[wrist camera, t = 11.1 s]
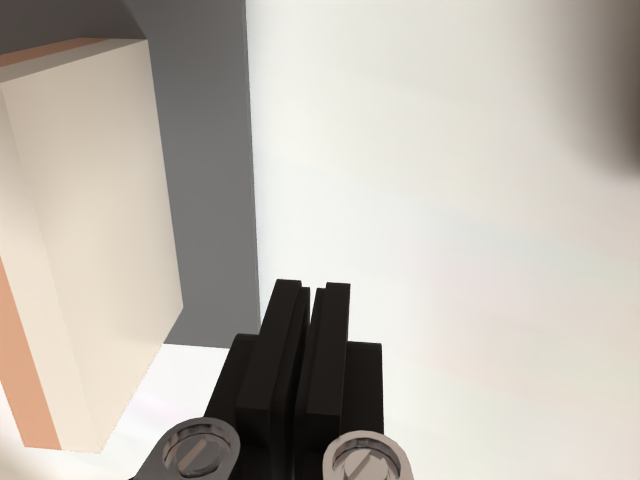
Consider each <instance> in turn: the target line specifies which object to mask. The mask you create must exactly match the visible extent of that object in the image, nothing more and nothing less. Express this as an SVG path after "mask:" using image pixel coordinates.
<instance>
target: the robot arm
mask: <svg viewBox="0 0 640 480" xmlns="http://www.w3.org/2000/svg"><path fill="white" fill-rule="evenodd" d="M349 303H350V284H348V283H332V282H327V283H326V288H317V290H316V295H315V301H314V306H313V311H312V317H311V322H310V287H302V283H301V281H300V280H284V279H277V280H276V283H275V286H274V289H273V292H272V295H271V298H270V301H269V304H268V307H267V310H266V313H265V316H264V319H263V322H262V325H261V328H260V332H259V335H256V334H242V333H238V334H237V335H236V336H235V338H234V340H233V343H232V345H231V348H230V350H229V353H228V355H227V358H226V360H225V363H224V366H223V368H222V371H221V373H220V376H219V378H218V381H217V383H216V386H215V388H214V391H213V393H212V396H211V399H210V401H209V404H208V406H207V409H206V411H205V414H204V416H203V417H200V418H194V419H189V420H187V421H184V422H181V423H179V424H177V425H176V426H174V427H173V428H171V429H170V430H168V431H167V432H166V433H165V434H164V435H163V436H162V437H161V439H160V440H159V441H158V442H157V444H156V445H155V447H154V448H153V450H152V451H151V453H150V454H149V456H148V457H147V459H146V460H145V462H144V463H143V465H142V466H141V468H140V469H139V471H138V472H137V474H136V475H135V476H134V477H132V478H131V479H129V480H414V478H413V474H412V470H411V466H410V463H409V460H408V458H407V456H406V454H405V452H404V451H403V449H402V448H401V447H400V446H399V445H398V444H397V443H396V442H395V441H393V440H392V439H390V438H388V437H387V436H385V435H384V417H383V376H382V345H381V343H367V342H353V341H348V323H349Z"/></svg>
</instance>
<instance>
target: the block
mask: <svg viewBox="0 0 640 480" xmlns="http://www.w3.org/2000/svg"><path fill="white" fill-rule="evenodd" d="M182 309H183V301H182V294H181V286H180V279H179V271H178V264H177V256H176V249H175V241H174V234H173V226H172V219H171V211H170V204H169V196H168V189H167V181H166V174H165V166H164V159H163V151H162V144H161V136H160V129H159V121H158V114H157V106H156V99H155V91H154V84H153V76H152V69H151V61H150V54H149V46H148V39H112V38H75V39H70V40H66V41H61V42H57V43H52V44H48V45H43V46H39V47H34V48H30V49H25V50H21V51H16V52H12V53H7V54H3V55H0V381H1V384H2V386H3V389H4V392H5V395H6V397H7V400H8V403H9V406H10V408H11V411H12V414H13V417H14V419H15V422H16V425H17V428H18V430H19V433H20V436H21V439H22V441H23V444H24V447H33V448H44V449H55V450H65V451H76V452H87V453H97V454H100V453H101V451H102V449H103V447H104V446H105V444H106V442H107V440H108V439H109V437H110V435H111V433H112V432H113V430H114V428H115V426H116V425H117V423H118V421H119V419H120V418H121V416H122V414H123V412H124V411H125V409H126V407H127V405H128V404H129V402H130V400H131V398H132V397H133V395H134V393H135V391H136V390H137V388H138V386H139V384H140V383H141V381H142V379H143V377H144V376H145V374H146V372H147V370H148V369H149V367H150V365H151V363H152V362H153V360H154V358H155V356H156V355H157V353H158V351H159V349H160V348H161V346H162V344H163V342H164V341H165V339H166V337H167V335H168V334H169V332H170V330H171V328H172V327H173V325H174V323H175V321H176V320H177V318H178V316H179V314H180V313H181V311H182Z"/></svg>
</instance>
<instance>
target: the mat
mask: <svg viewBox="0 0 640 480" xmlns="http://www.w3.org/2000/svg"><path fill="white" fill-rule="evenodd" d="M75 38H112V39H148V46H149V54H150V61H151V69H152V76H153V84H154V91H155V99H156V106H157V114H158V121H159V129H160V136H161V144H162V151H163V159H164V166H165V174H166V181H167V189H168V196H169V204H170V211H171V219H172V226H173V234H174V241H175V249H176V256H177V264H178V271H179V279H180V286H181V294H182V301H183V309H182V311H181V313H180V314H179V316H178V318H177V320H176V321H175V323H174V325H173V327H172V328H171V330H170V332H169V334H168V335H167V337H166V339H165V341H164V342H163V343H164V344H177V345H190V346H203V347H216V348H229V349H230V348H231V345H232V343H233V340H234V338H235V336H236V335H237V334H238V333H242V334H256V335H259V332H260V328H261V323H260V302H259V281H258V260H257V239H256V218H255V196H254V175H253V154H252V133H251V112H250V91H249V70H248V49H247V28H246V6H245V0H0V55H3V54H7V53H12V52H16V51H21V50H25V49H30V48H34V47H39V46H43V45H48V44H52V43H57V42H61V41H66V40H70V39H75Z"/></svg>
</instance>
